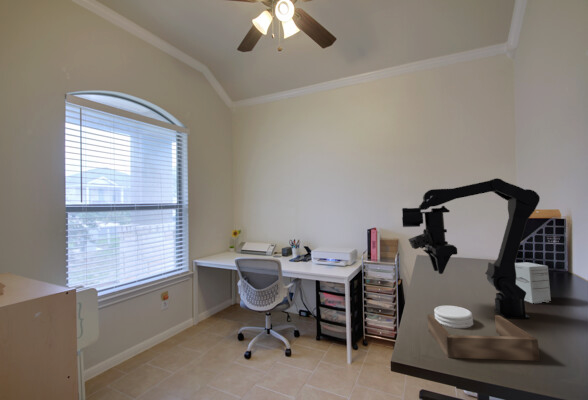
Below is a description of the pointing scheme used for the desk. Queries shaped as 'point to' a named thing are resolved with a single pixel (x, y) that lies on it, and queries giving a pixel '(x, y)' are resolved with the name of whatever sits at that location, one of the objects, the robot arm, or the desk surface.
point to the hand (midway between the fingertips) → (438, 272)
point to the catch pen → (487, 342)
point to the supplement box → (533, 281)
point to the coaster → (453, 316)
